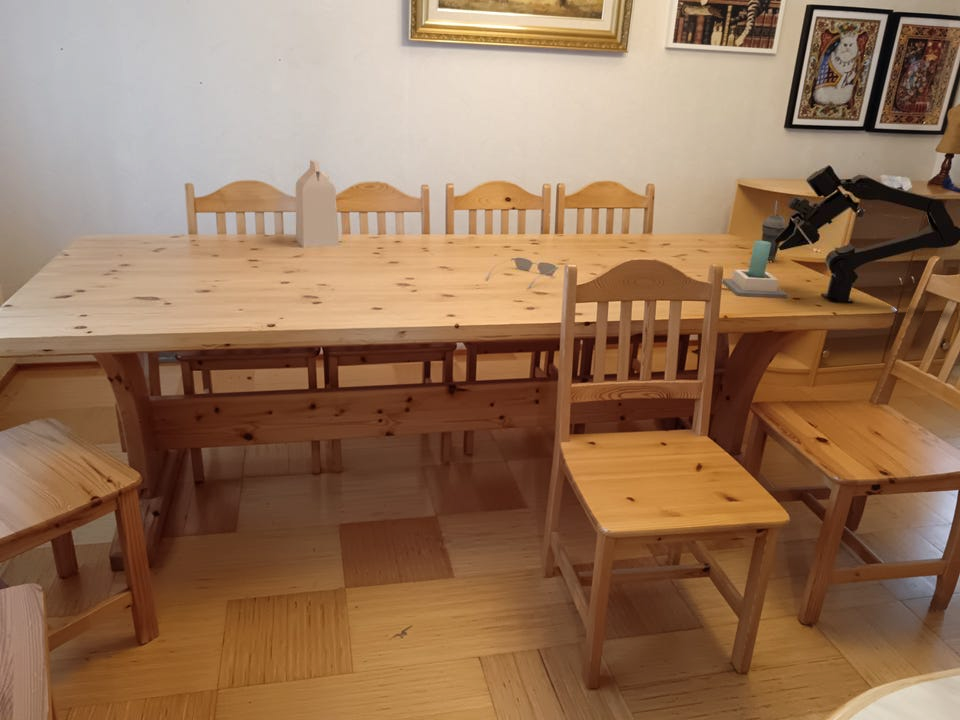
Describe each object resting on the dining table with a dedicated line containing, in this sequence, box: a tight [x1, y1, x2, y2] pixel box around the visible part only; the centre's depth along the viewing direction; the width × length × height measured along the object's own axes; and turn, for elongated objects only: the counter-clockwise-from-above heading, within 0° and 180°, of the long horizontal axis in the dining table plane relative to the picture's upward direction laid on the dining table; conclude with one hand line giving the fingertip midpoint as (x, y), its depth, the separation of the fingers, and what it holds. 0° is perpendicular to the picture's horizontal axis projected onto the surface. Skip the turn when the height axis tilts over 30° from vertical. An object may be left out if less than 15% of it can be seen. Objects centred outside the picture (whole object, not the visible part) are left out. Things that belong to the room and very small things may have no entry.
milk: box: [295, 159, 340, 249], centre depth 229 cm, size 12×12×26 cm
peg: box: [748, 240, 771, 278], centre depth 204 cm, size 4×4×13 cm
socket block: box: [722, 269, 788, 299], centre depth 206 cm, size 14×14×4 cm
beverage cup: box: [761, 200, 786, 263], centre depth 237 cm, size 7×7×20 cm
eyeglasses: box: [485, 257, 559, 291], centre depth 206 cm, size 15×18×4 cm
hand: (777, 245), depth 201 cm, fingers open, 9 cm apart
